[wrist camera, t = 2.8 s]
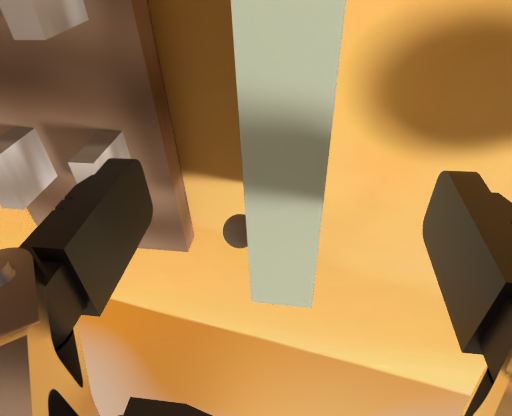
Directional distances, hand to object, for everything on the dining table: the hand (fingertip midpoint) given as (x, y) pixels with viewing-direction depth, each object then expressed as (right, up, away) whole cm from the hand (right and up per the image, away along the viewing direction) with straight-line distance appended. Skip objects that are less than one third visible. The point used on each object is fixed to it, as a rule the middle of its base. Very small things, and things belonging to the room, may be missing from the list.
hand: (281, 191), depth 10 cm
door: (+1, +6, +6) cm, 9 cm away
